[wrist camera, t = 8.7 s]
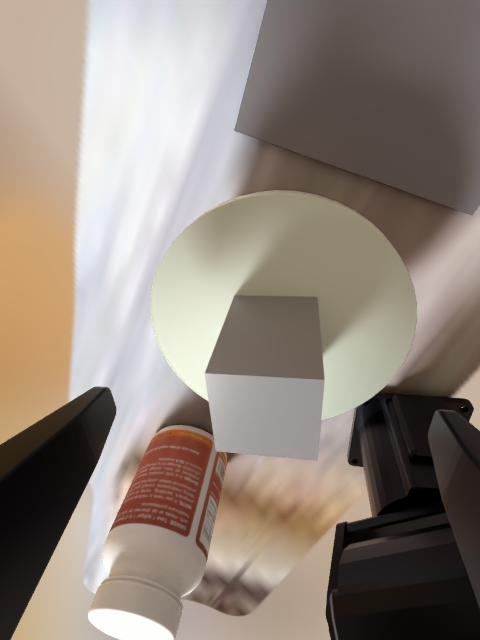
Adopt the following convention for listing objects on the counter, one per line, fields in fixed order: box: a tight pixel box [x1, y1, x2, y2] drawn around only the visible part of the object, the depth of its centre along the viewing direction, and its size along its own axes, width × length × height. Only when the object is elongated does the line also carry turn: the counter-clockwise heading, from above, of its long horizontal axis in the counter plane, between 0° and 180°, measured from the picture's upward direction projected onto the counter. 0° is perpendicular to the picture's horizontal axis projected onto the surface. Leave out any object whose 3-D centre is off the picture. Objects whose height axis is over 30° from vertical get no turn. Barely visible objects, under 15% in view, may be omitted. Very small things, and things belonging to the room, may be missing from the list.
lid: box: [150, 190, 417, 461], centre depth 11 cm, size 10×10×5 cm
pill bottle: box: [88, 425, 227, 640], centre depth 22 cm, size 6×6×11 cm
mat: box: [234, 0, 480, 215], centre depth 12 cm, size 11×11×1 cm
